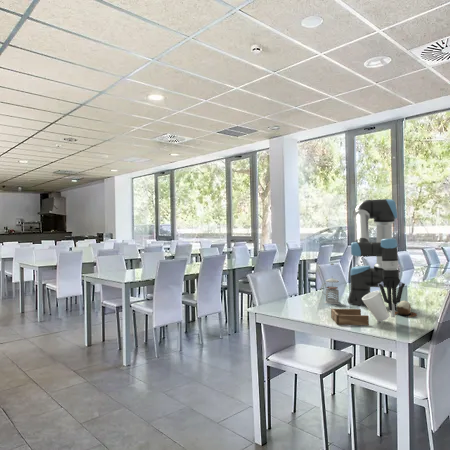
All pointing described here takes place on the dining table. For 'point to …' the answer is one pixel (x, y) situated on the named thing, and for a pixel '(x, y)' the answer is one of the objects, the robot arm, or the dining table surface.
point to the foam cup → (376, 305)
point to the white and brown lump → (404, 309)
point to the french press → (333, 290)
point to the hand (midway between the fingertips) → (393, 316)
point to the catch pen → (349, 317)
